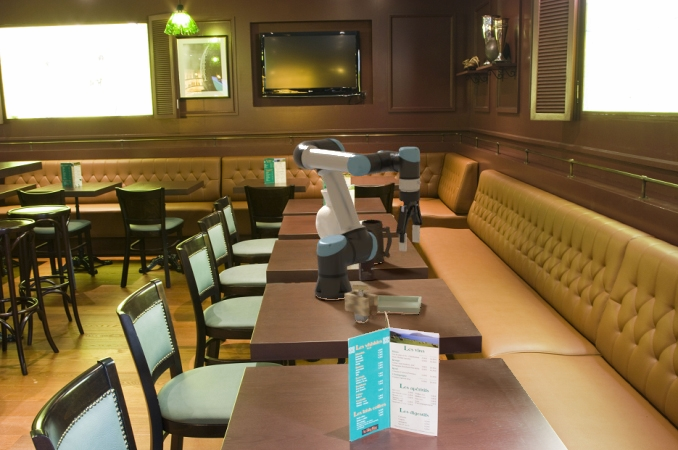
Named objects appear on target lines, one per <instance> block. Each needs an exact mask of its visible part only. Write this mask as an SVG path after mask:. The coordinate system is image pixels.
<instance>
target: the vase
mask: <svg viewBox="0 0 678 450" xmlns="http://www.w3.org/2000/svg"><path fill="white" fill-rule="evenodd" d="M320 193H321V195H322V197H323V198H324V199H323V200H324V202H325V203H324V204H325V205H323V206H322V207H320V209H319V210H318V211H317V213H316V216H315V228H316V232H317V235H318V236H319V238H320V239H322V238H324V237H327V236H333V235H339V234H340V232H341V230H340V227H339V224H338V221H337V218H336V215H335V212H334V209H333V206H332V204H331V201H330V198H329V195H328V192H327V189H326V188H324V189H321V190H320Z"/></svg>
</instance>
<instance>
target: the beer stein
mask: <svg viewBox="0 0 678 450" xmlns="http://www.w3.org/2000/svg"><path fill="white" fill-rule="evenodd" d="M360 224H361V225H363V226H365V227H366V230H367V232H370V233H372V235H374V236H375V238H376V240H377V251H376V255H375V256H374V263H380V262H383V261H384V262H385V258H384V257H386V258H387V259H389V258H390V257H391V254H390V249H391V247H392V243H393V237H392V234H391V230H390V228H391V227H390V226H385V227H383V226H384V224H383V221H382V220H379V219H365V220H362V221H361V223H360ZM384 233H386V239H387V241H386V247H385V244H384V243H385V242H384ZM384 262H383V263H384Z"/></svg>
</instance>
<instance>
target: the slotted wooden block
mask: <svg viewBox="0 0 678 450" xmlns="http://www.w3.org/2000/svg"><path fill="white" fill-rule="evenodd" d="M363 293H364V297H362V296H358V290H352V291H351V292H348V293H345V294H344V295H345V299H344V310H345V311H347V312H350V313H353V314H355V313H356V314H359V315H362V316H368V315H369V316H371V317H373V316H376V315H378V314H377V312H378V295H379V294H375V293H373V292H372V293H371V292H367V291H365V290H363Z"/></svg>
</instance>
